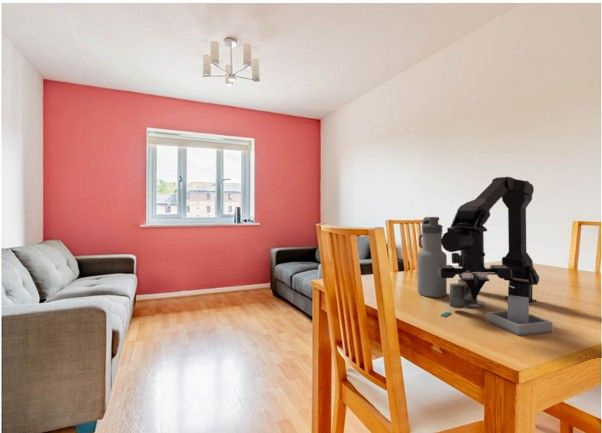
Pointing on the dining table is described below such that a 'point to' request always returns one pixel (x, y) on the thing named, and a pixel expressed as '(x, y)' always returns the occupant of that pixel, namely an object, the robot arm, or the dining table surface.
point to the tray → (533, 327)
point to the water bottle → (431, 259)
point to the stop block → (518, 309)
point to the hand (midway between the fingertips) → (473, 300)
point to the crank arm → (457, 294)
